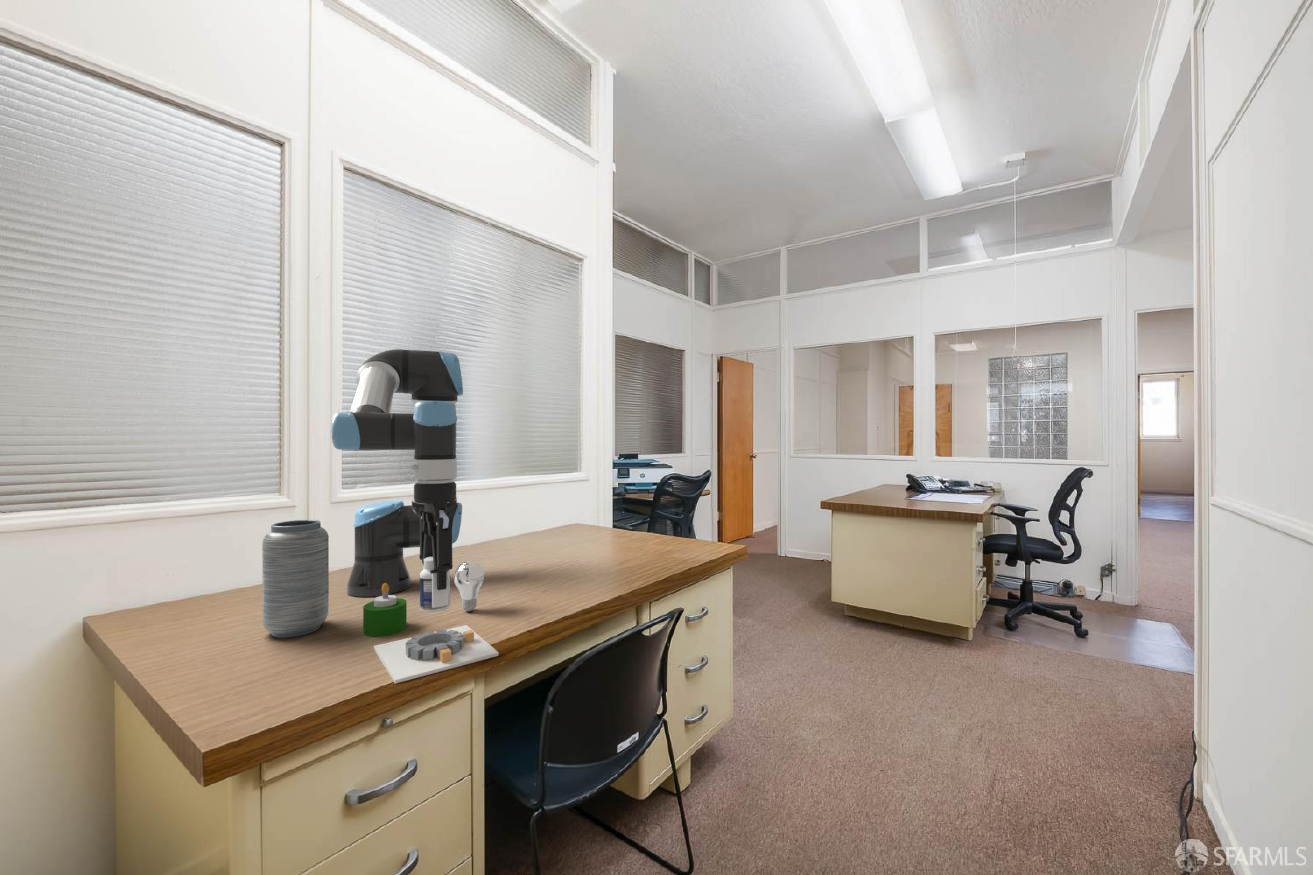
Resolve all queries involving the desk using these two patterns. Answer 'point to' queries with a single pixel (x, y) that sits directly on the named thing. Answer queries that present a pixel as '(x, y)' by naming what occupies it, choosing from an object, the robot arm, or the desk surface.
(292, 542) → the vase
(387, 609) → the candle
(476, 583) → the light bulb
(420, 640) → the socket
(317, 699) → the desk surface
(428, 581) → the pill bottle
